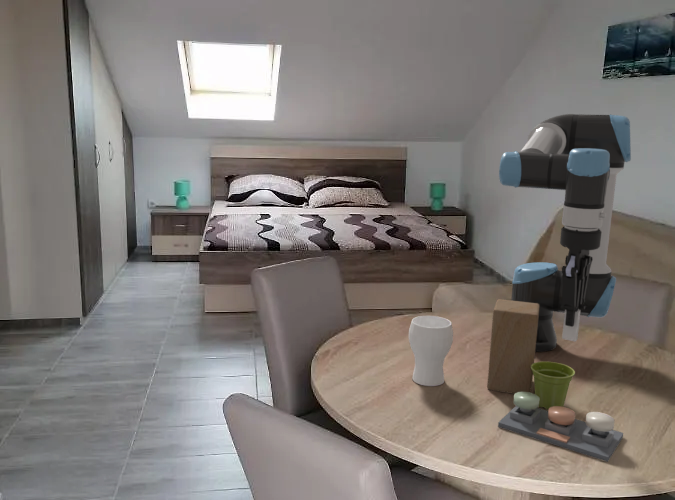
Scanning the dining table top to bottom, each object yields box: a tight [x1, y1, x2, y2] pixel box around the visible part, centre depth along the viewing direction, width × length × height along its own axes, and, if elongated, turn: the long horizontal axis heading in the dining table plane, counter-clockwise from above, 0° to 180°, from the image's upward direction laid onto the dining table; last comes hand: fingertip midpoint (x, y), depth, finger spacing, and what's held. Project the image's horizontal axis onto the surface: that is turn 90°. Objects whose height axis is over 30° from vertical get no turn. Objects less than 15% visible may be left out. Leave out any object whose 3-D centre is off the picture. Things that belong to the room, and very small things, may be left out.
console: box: [497, 405, 624, 462], centre depth 132 cm, size 22×12×2 cm, turn 54°
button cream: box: [585, 411, 615, 435], centre depth 127 cm, size 5×5×3 cm
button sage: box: [513, 392, 540, 413], centre depth 136 cm, size 5×5×3 cm
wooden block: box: [486, 298, 539, 394], centre depth 152 cm, size 10×10×20 cm
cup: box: [408, 315, 454, 387], centre depth 155 cm, size 11×11×15 cm
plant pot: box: [531, 360, 576, 411], centre depth 144 cm, size 9×9×9 cm
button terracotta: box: [547, 406, 576, 427], centre depth 131 cm, size 5×5×3 cm
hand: (569, 339), depth 132 cm, fingers closed
